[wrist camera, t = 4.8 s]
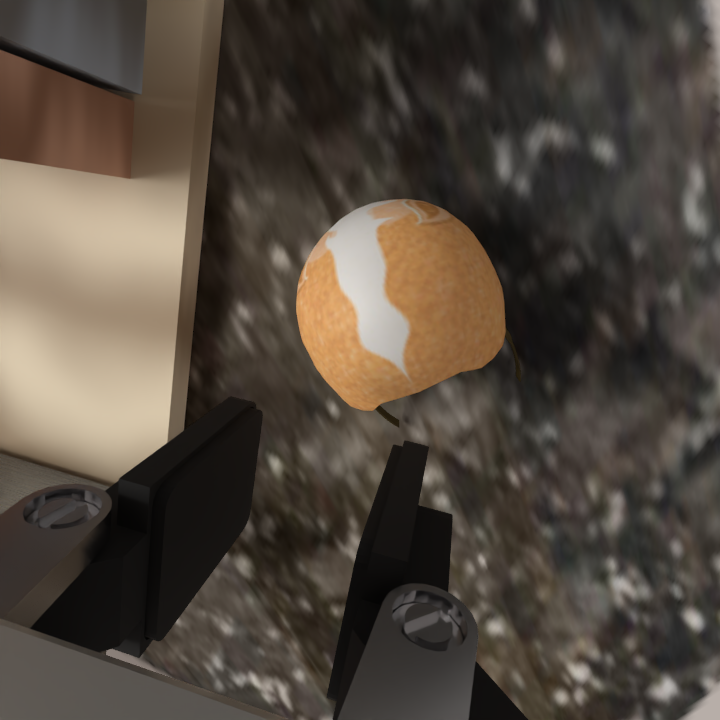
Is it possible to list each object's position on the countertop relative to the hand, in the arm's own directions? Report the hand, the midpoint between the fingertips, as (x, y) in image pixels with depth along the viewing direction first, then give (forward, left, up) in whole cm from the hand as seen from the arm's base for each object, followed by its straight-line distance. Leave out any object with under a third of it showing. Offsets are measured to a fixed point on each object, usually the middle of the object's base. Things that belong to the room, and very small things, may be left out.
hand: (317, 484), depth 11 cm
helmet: (0, +3, -8) cm, 9 cm away
